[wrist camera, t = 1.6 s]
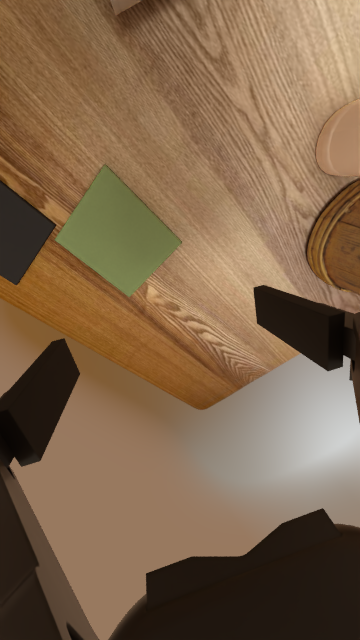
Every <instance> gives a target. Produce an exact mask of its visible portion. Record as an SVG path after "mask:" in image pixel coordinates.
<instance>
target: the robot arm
mask: <svg viewBox="0 0 360 640" xmlns="http://www.w3.org/2000/svg"><path fill="white" fill-rule="evenodd" d="M254 298H255V307H256V317H257V324H259V325H260V326H262V327H263V328H265V329H266V330H268V331H269V332H271V333H272V334H274V335H275V336H276V337H278V338H279V339H281V340H282V341H284V342H285V343H287V344H288V345H290V346H291V347H293V348H294V349H296V350H297V351H299V352H300V353H302V354H303V355H305V356H306V357H307V358H309V359H310V360H312V361H313V362H315V363H317V364H318V365H319V366H321V367H323V368H324V369H325V370H327V371H330V370H333V369H337V368H340V367H343V355H345V356H346V357H348V358H350V359H351V364H350V380H352V381H353V386H354V392H355V398H356V404H357V410H358V416H359V422H360V312H358V313H356V314H353V313H350V312H347V311H344V310H341V309H336V308H335V307H332V306H331V307H330V306H329V305H326V304H322V303H316V302H313V301H310V300H307V299H304V298H301V297H298V296H295V295H292V294H289V293H286V292H283V291H280V290H277V289H274V288H271V287H268V286H265V285H262V286H258V287H254ZM79 375H80V373H79V370H78V368H77V365H76V364H75V361H74V359H73V357H72V354H71V352H70V350H69V348H68V346H67V343H66V341H65V339H60V340H56V341H52V342H51V344H50V345H49V346H48V347H47V348H46V349H45V350H44V351H43V352H42V354H41V355H40V356H39V357H38V358H37V359H36V360H35V361H34V363H33V364H32V365H31V366H30V367H29V368H28V369H27V371H26V372H25V373H24V374H23V375H22V376H21V377H20V378H19V380H18V381H17V382H16V383H15V384H14V385H13V386H12V387H11V388H10V390H8V391H7V392H6V393H4V394H3V395H2V396H1V398H0V640H99V639H98V637H97V636H96V634H95V632H94V631H93V629H92V627H91V626H90V624H89V622H88V620H87V618H86V616H85V614H84V612H83V610H82V608H81V606H80V604H79V602H78V600H77V598H76V596H75V594H74V592H73V590H72V588H71V586H70V584H69V582H68V580H67V578H66V576H65V574H64V572H63V570H62V568H61V566H60V564H59V562H58V560H57V558H56V556H55V554H54V552H53V550H52V548H51V546H50V544H49V542H48V540H47V538H46V536H45V534H44V532H43V530H42V528H41V526H40V524H39V522H38V520H37V518H36V516H35V514H34V512H33V510H32V508H31V506H30V504H29V502H28V500H27V498H26V496H25V494H24V492H23V490H22V488H21V486H20V484H19V482H18V480H17V478H16V476H15V474H14V472H13V471H12V469H11V468H10V466H9V465H10V463H11V462H12V460H13V458H14V457H15V458H16V459H17V461H18V462H19V464H20V465H21V466H25V465H28V464H32V463H35V462H38V461H40V460H41V458H42V456H43V454H44V452H45V450H46V447H47V445H48V443H49V441H50V439H51V436H52V434H53V432H54V430H55V427H56V425H57V423H58V421H59V419H60V416H61V414H62V412H63V410H64V408H65V406H66V403H67V401H68V399H69V397H70V395H71V393H72V390H73V388H74V386H75V384H76V382H77V379H78V377H79ZM146 591H147V594H146V595H144V596H143V597H142V598H141V599H140V600H139V601H138V602H137V603H136V604H135V605H134V606H133V607H132V608H131V609H130V610H129V611H128V612H127V614H126V615H125V616H124V618H123V619H122V620H121V622H120V623H119V624H118V626H117V627H116V629H115V630H114V632H113V633H112V635H111V636H110V638H109V639H108V640H360V528H359V527H355V526H351V525H343V524H334V523H333V522H332V521H331V519H330V518H329V516H328V515H327V513H326V512H325V510H324V509H320V510H317V511H314V512H311V513H309V514H306V515H303V516H301V517H298V518H295V519H292V520H290V521H287V522H285V523H282V524H281V525H279V526H278V527H277V528H276V529H275V530H274V531H272V532H271V533H270V534H269V535H268V536H267V537H266V538H264V539H263V540H262V541H261V542H260V543H259V544H257V545H256V546H255V547H254V548H253V549H252V550H250V551H249V552H248V553H247V554H245V555H243V556H238V557H190V558H187V559H184V560H182V561H179V562H176V563H173V564H170V565H168V566H165V567H162V568H160V569H157V570H154V571H152V572H149V573H146Z"/></svg>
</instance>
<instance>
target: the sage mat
mask: <svg viewBox="0 0 360 640" xmlns="http://www.w3.org/2000/svg"><path fill="white" fill-rule="evenodd" d="M55 241H57V242H58V243H59V244H61V245H62V246H63V247H65V248H66V249H67V250H68V251H70V252H71V253H72V254H74V255H75V256H76V257H78V258H79V259H80V260H81V261H83V262H84V263H85V264H87V265H88V266H89V267H91V268H92V269H93V270H95V271H96V272H97V273H98V274H100V275H101V276H102V277H104V278H105V279H106V280H108V281H109V282H110V283H112V284H113V285H114V286H115V287H117V288H118V289H119V290H121V291H122V292H123V293H125V294H126V295H127V296H128V297H130V296H131V295H132V294H133V293H134V292H135V291H136V290H137V289H138V288H139V287H140V286H141V285H142V284H143V283H144V282H145V281H146V279H147V278H148V277H149V276H150V275H151V274H152V273H153V272H154V271H155V270H156V269H157V268H158V267H159V266H160V265H161V264H162V263H163V262H164V261H165V260H166V259H167V258H168V257H169V256H170V255H171V254H172V252H173V251H174V250H175V249H176V248H177V247H178V246H179V245H180V244H181V243H182V241H181V240H180V239H179V238H178V237H177V236H176V235H175V234H174V233H173V232H172V231H171V230H170V229H169V228H168V227H167V226H166V225H165V224H164V223H163V222H162V221H161V220H160V219H159V218H158V217H157V216H156V215H155V214H154V213H153V212H152V211H151V210H150V209H149V208H148V207H147V206H146V205H145V204H144V203H143V202H142V201H141V200H140V199H139V198H138V197H137V196H136V195H135V194H134V193H133V192H132V191H131V190H130V189H129V188H128V187H127V186H126V185H125V184H124V183H123V182H122V181H121V180H120V179H119V178H118V177H117V176H116V175H115V174H114V172H113V171H112V170H111V169H110V168H109V167H108V166H107V165H104V166H103V168H102V169H101V171H100V172H99V174H98V175H97V177H96V178H95V180H94V181H93V183H92V184H91V186H90V187H89V189H88V190H87V192H86V193H85V195H84V196H83V198H82V199H81V201H80V202H79V204H78V205H77V207H76V208H75V210H74V211H73V213H72V214H71V216H70V217H69V219H68V220H67V222H66V223H65V225H64V226H63V228H62V229H61V231H60V232H59V234H58V235H57V237H56V238H55Z"/></svg>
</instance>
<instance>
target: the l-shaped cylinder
mask: <svg viewBox="0 0 360 640" xmlns="http://www.w3.org/2000/svg"><path fill="white" fill-rule="evenodd" d="M110 1H111V4H112V7H113V10H114V12H115V15H118V14H120V12H123V11H125V10H127V9H128V8H130V7H132V6H133V5H135V4H137V3H139V2H140V1H142V0H110Z"/></svg>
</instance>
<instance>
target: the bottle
mask: <svg viewBox="0 0 360 640" xmlns="http://www.w3.org/2000/svg"><path fill="white" fill-rule="evenodd" d="M316 160H317V162H318V164H319V167H320V169H321V170H323V171H324V172H325V173H326V174H331V175H337V176H344V177H347V176H360V99H357V100H355V101H353V102H351V103H350V104H347V105H345V106H344V107H342V108H341V109H339V110H338V111H336V112H335V113H334V114H333V115H332V116H331V118H330V119H329V120H328V121H327V122H326V123H325V125H324V127H323V129H322V131H321V133H320V135H319V138H318V142H317V146H316Z"/></svg>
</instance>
